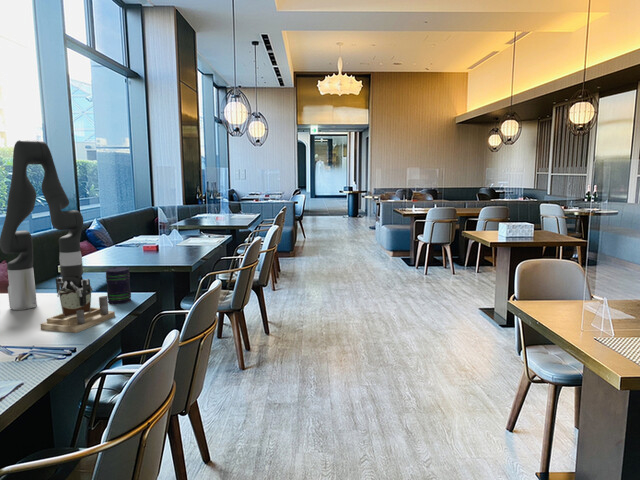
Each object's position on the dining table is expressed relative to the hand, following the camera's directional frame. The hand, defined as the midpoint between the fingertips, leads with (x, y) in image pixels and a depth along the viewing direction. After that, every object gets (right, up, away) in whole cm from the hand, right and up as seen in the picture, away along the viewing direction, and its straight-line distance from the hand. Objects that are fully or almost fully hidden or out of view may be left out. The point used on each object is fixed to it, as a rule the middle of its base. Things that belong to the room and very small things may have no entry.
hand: (74, 304), depth 174 cm
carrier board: (+2, -7, +1) cm, 7 cm away
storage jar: (+4, -3, +30) cm, 30 cm away
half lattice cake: (0, -3, +1) cm, 3 cm away
